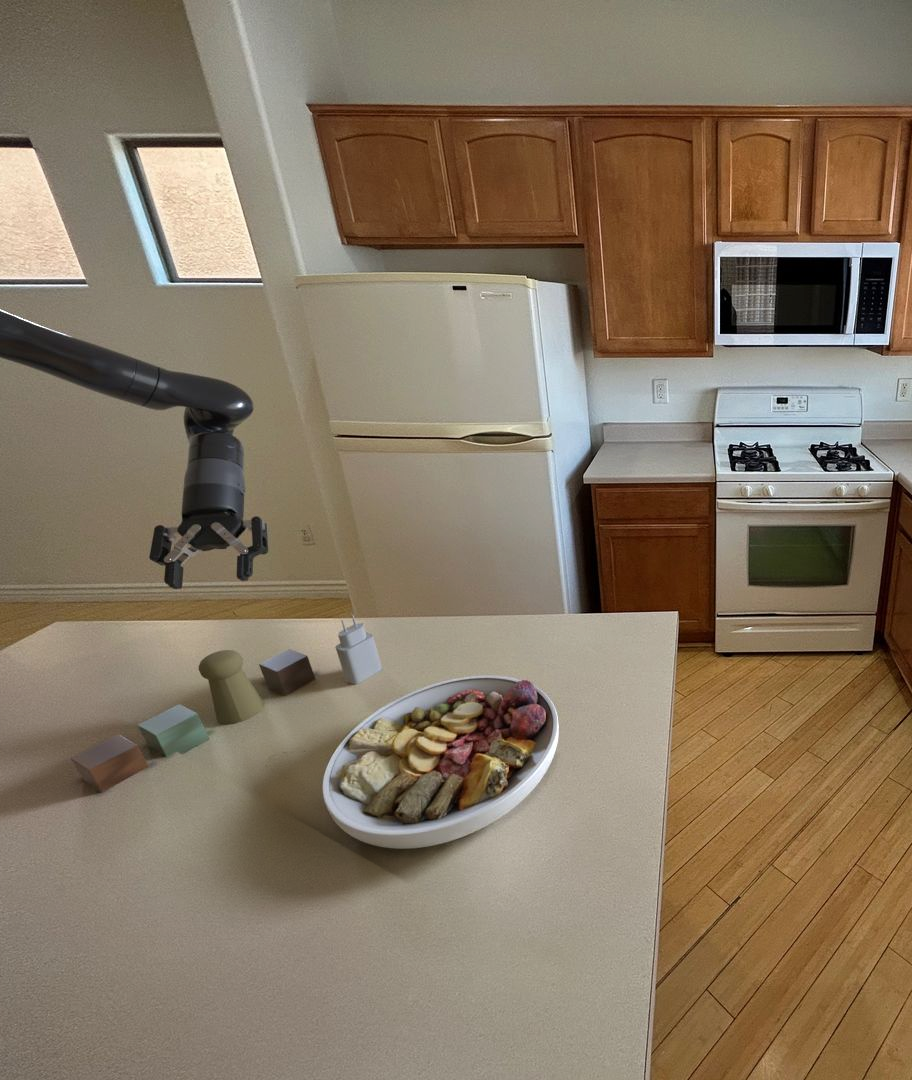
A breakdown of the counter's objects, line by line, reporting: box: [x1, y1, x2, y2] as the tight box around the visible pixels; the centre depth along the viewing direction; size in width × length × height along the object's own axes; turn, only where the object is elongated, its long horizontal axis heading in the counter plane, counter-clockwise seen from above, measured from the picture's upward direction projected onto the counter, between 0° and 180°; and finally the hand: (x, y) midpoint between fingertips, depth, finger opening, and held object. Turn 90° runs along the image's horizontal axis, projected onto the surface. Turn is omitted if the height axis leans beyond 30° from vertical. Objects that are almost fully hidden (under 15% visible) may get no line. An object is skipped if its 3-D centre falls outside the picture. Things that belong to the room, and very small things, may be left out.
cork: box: [198, 649, 265, 725], centre depth 88 cm, size 6×6×11 cm
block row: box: [70, 648, 316, 793], centre depth 86 cm, size 28×5×5 cm, turn 156°
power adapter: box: [334, 614, 383, 685], centre depth 97 cm, size 3×5×12 cm, turn 156°
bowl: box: [321, 675, 560, 850], centre depth 79 cm, size 30×30×8 cm
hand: (209, 583), depth 87 cm, fingers open, 8 cm apart
